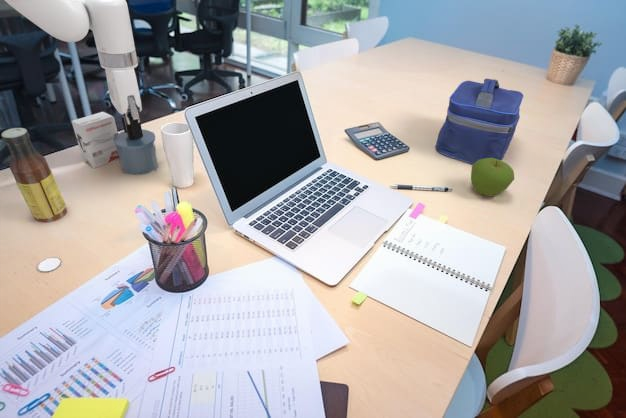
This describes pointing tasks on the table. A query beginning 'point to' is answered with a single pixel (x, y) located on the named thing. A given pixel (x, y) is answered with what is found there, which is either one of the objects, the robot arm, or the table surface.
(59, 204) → the sauce bottle
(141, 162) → the canister
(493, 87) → the lunch bag
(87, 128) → the ink box
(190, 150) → the drinking glass
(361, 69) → the table surface
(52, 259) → the white flat disc
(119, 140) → the canister lid
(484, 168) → the apple
